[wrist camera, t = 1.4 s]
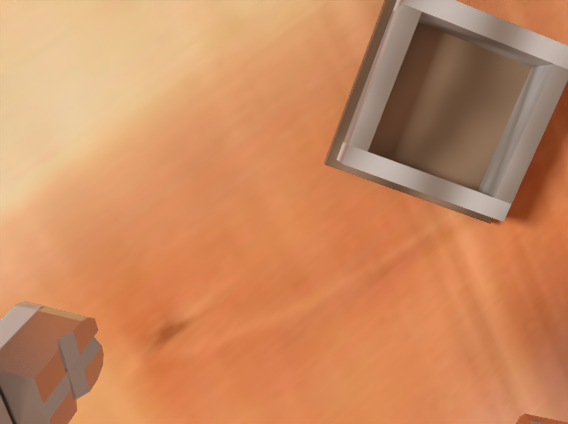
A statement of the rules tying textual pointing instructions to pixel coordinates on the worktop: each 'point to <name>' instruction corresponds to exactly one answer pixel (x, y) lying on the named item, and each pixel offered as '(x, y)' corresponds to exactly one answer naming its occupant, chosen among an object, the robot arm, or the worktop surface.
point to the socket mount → (449, 105)
